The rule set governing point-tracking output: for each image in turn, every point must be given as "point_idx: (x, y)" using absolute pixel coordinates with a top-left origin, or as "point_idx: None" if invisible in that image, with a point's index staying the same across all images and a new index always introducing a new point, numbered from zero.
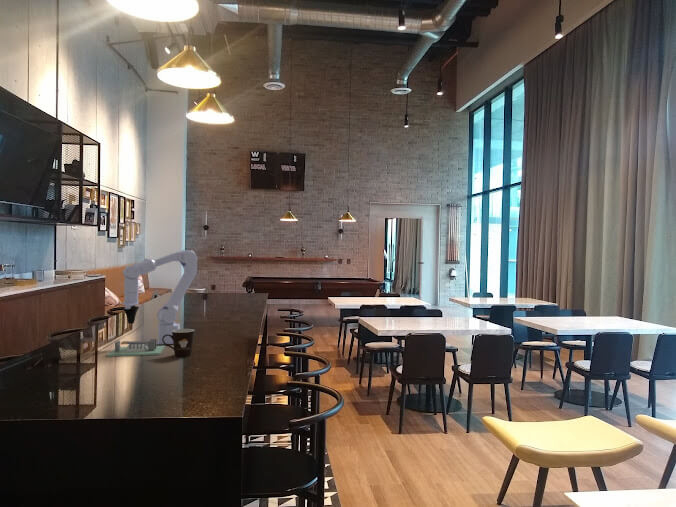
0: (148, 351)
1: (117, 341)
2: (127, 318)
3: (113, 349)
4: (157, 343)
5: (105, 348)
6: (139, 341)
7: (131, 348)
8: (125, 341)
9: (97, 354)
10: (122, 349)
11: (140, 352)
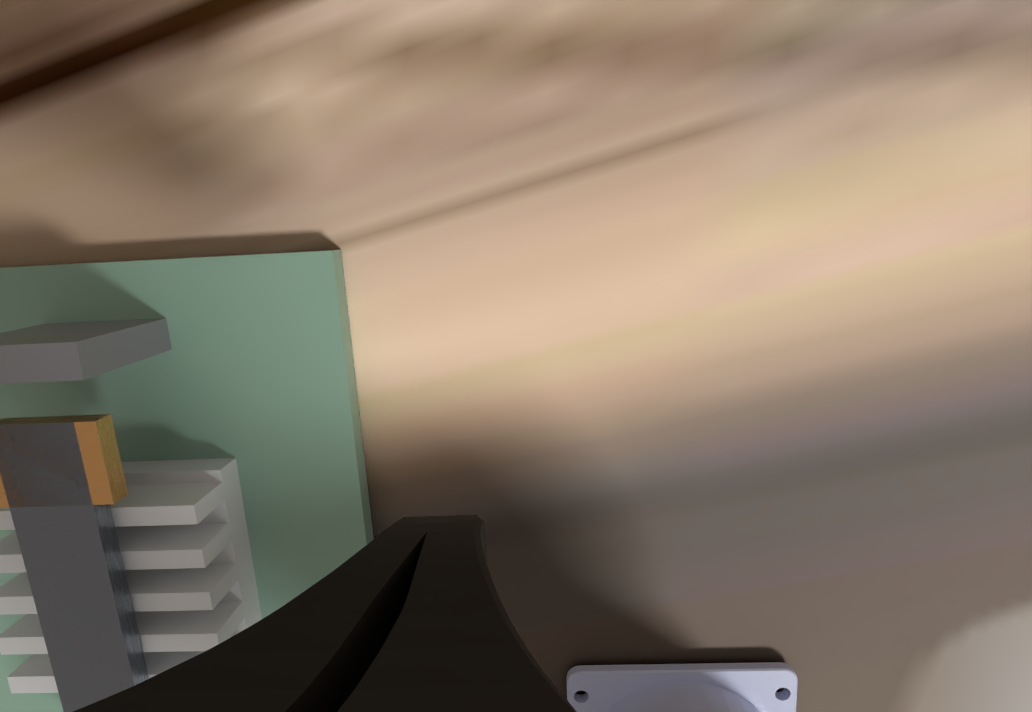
0: None
1: (1, 363)
2: (323, 585)
3: (175, 261)
4: (569, 689)
5: (391, 80)
6: (112, 639)
7: (9, 539)
8: (89, 458)
9: (7, 107)
10: (175, 378)
11: (18, 619)
